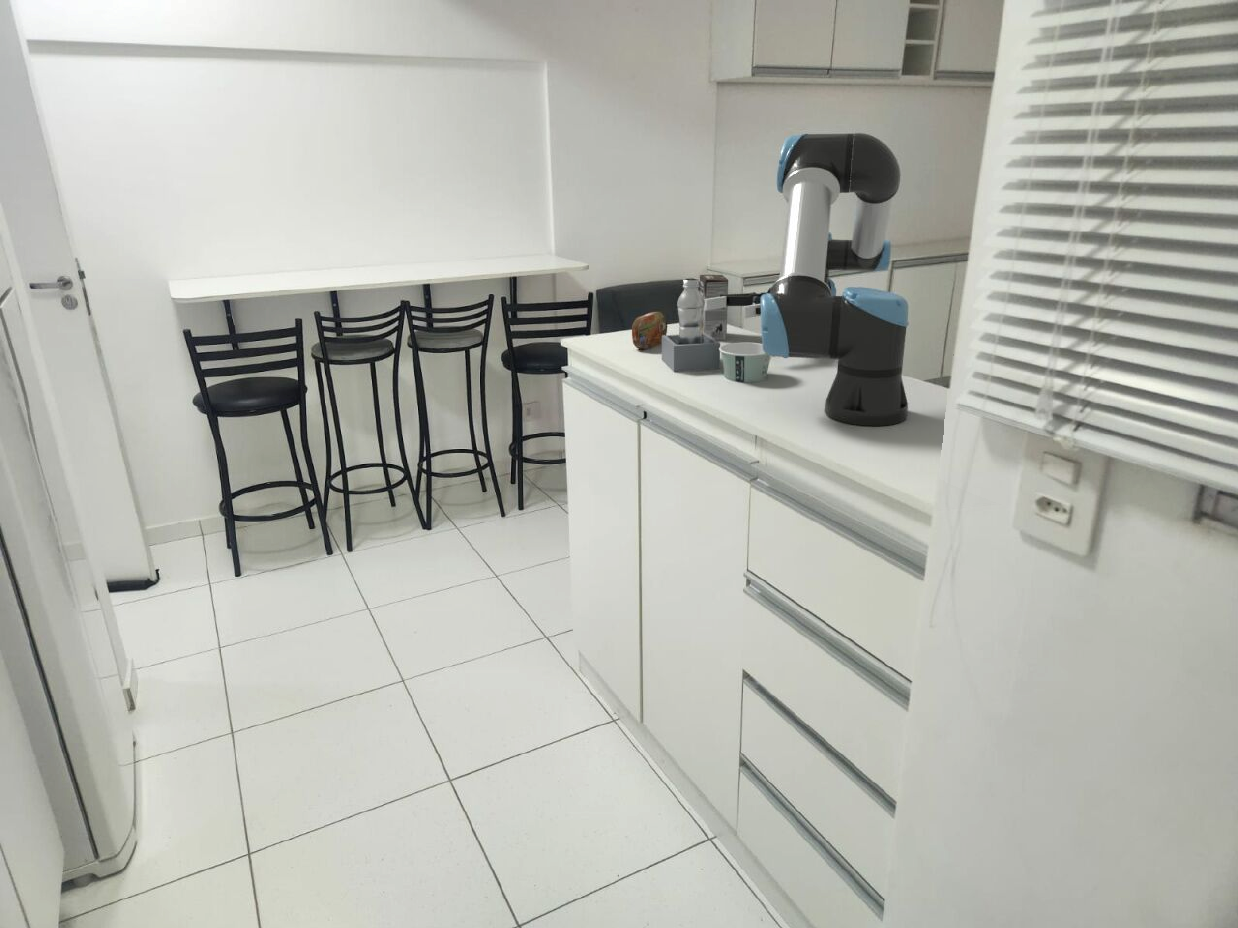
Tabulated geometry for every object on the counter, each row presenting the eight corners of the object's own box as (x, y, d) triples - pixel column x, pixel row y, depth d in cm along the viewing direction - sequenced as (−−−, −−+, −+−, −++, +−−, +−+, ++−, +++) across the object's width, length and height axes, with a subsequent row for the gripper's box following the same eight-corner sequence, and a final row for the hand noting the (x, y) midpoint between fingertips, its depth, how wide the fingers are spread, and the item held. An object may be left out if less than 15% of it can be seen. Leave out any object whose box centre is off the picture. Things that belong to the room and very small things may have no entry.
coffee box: (698, 333, 224) (699, 274, 218) (721, 332, 224) (722, 274, 218) (703, 340, 215) (704, 279, 210) (727, 339, 216) (728, 278, 210)
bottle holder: (719, 368, 187) (720, 343, 185) (673, 371, 185) (674, 346, 183) (705, 356, 198) (705, 332, 196) (661, 359, 196) (661, 335, 194)
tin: (640, 352, 204) (640, 319, 201) (629, 351, 206) (629, 318, 203) (668, 340, 216) (668, 309, 213) (658, 339, 218) (658, 308, 215)
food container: (771, 384, 174) (773, 355, 171) (716, 383, 176) (716, 353, 174) (772, 370, 185) (774, 342, 182) (720, 369, 187) (721, 341, 185)
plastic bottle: (670, 364, 192) (670, 279, 185) (690, 359, 196) (691, 276, 189) (690, 369, 187) (691, 282, 180) (709, 364, 192) (711, 279, 184)
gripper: (823, 320, 196) (760, 332, 185) (751, 306, 215) (690, 316, 204) (825, 289, 194) (762, 299, 182) (752, 278, 213) (691, 286, 201)
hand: (724, 308), depth 193 cm, fingers open, 13 cm apart
